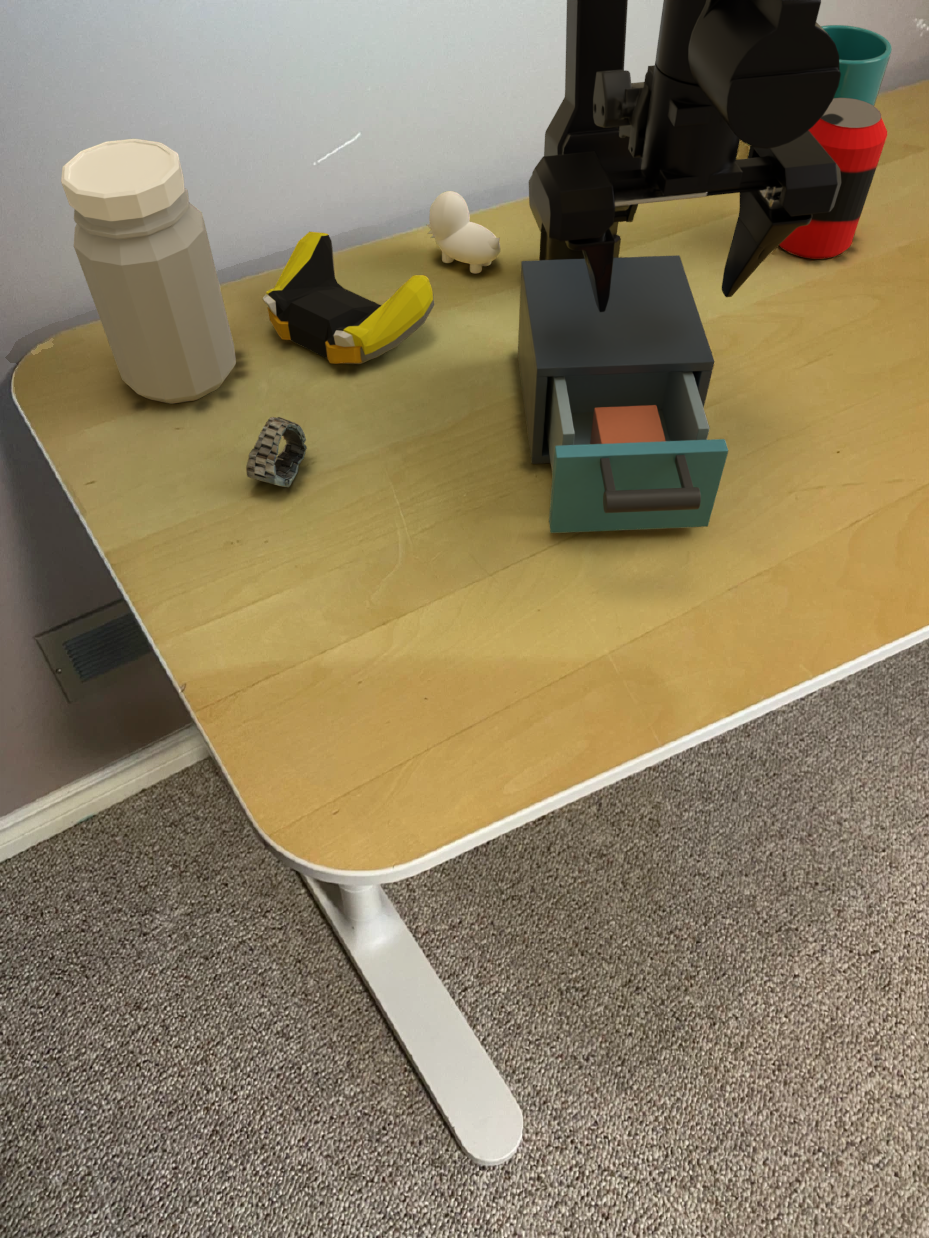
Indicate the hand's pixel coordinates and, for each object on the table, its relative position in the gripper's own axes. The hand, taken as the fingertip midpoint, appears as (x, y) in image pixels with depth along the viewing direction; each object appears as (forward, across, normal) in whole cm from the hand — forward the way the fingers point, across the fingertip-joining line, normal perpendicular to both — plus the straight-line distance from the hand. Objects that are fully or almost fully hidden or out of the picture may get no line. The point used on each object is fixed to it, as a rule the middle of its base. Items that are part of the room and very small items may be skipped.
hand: (663, 301), depth 68 cm
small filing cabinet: (+12, +2, -4) cm, 12 cm away
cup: (+12, -32, -40) cm, 53 cm away
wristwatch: (+12, +29, 0) cm, 31 cm away
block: (+10, +4, +7) cm, 12 cm away
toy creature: (+12, +10, -27) cm, 31 cm away
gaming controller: (+12, +22, -18) cm, 31 cm away
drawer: (+11, +4, +7) cm, 14 cm away
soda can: (+12, -24, -24) cm, 36 cm away
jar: (+12, +36, -14) cm, 41 cm away
